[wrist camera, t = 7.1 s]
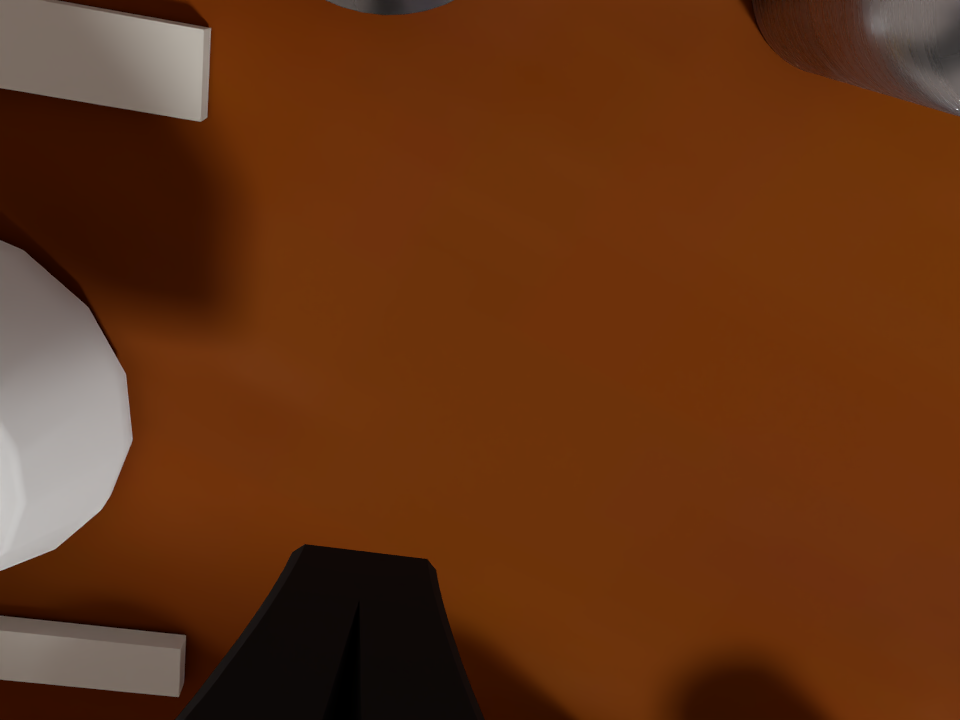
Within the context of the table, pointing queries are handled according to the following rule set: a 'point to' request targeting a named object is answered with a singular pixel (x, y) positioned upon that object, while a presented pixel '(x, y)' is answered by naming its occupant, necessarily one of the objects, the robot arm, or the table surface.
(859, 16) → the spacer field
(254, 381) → the table surface
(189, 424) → the table surface
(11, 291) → the white jar
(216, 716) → the robot arm
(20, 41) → the outline bay
